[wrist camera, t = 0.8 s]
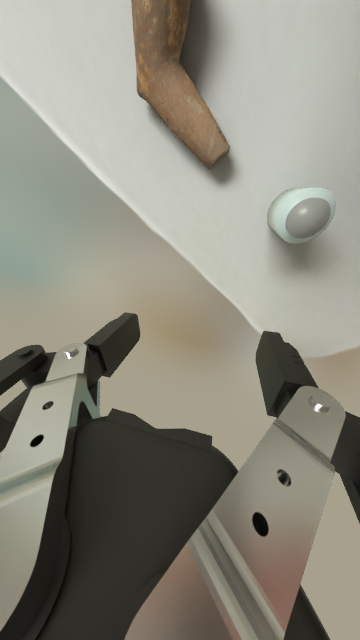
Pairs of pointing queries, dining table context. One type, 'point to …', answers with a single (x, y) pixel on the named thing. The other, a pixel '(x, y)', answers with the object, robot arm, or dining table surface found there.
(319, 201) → the domed pale cylinder
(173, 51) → the pipe
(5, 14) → the dining table surface
